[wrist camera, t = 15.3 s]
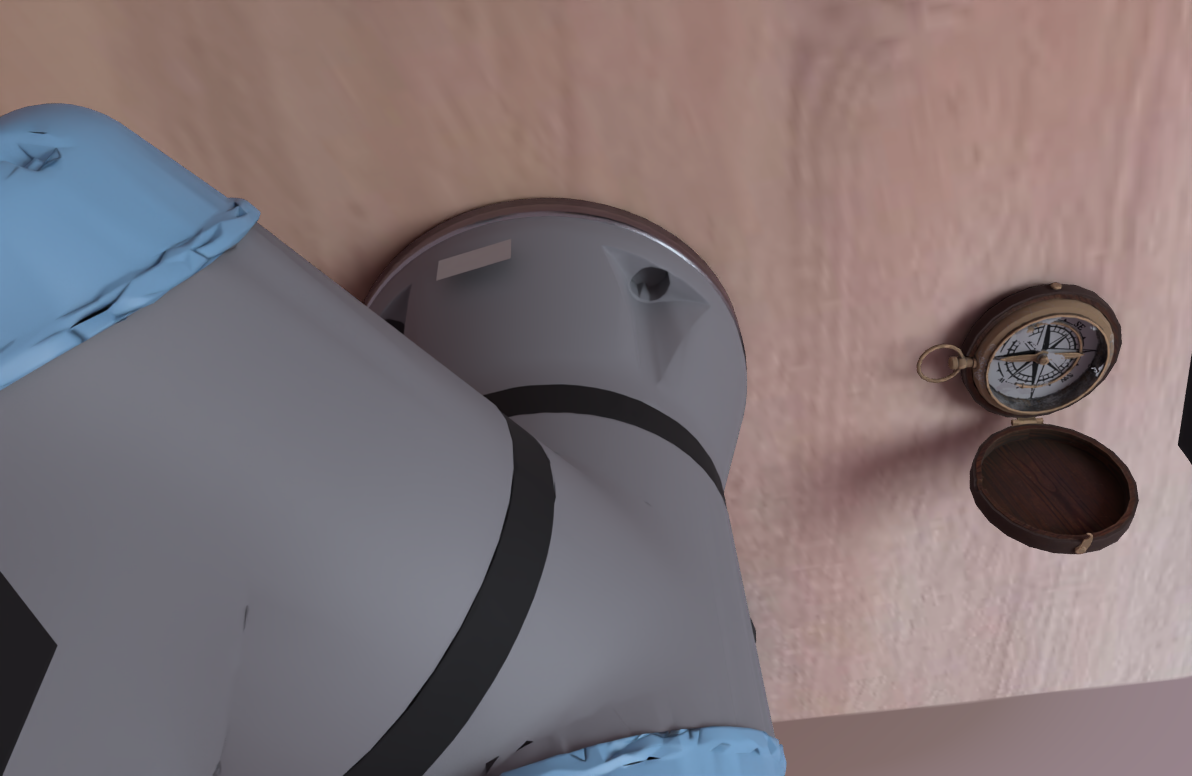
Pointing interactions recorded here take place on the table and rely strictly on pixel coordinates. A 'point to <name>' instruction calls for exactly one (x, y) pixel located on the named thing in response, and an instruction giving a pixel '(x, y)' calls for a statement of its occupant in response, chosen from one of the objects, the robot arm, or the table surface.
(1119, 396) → the table surface
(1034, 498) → the compass
